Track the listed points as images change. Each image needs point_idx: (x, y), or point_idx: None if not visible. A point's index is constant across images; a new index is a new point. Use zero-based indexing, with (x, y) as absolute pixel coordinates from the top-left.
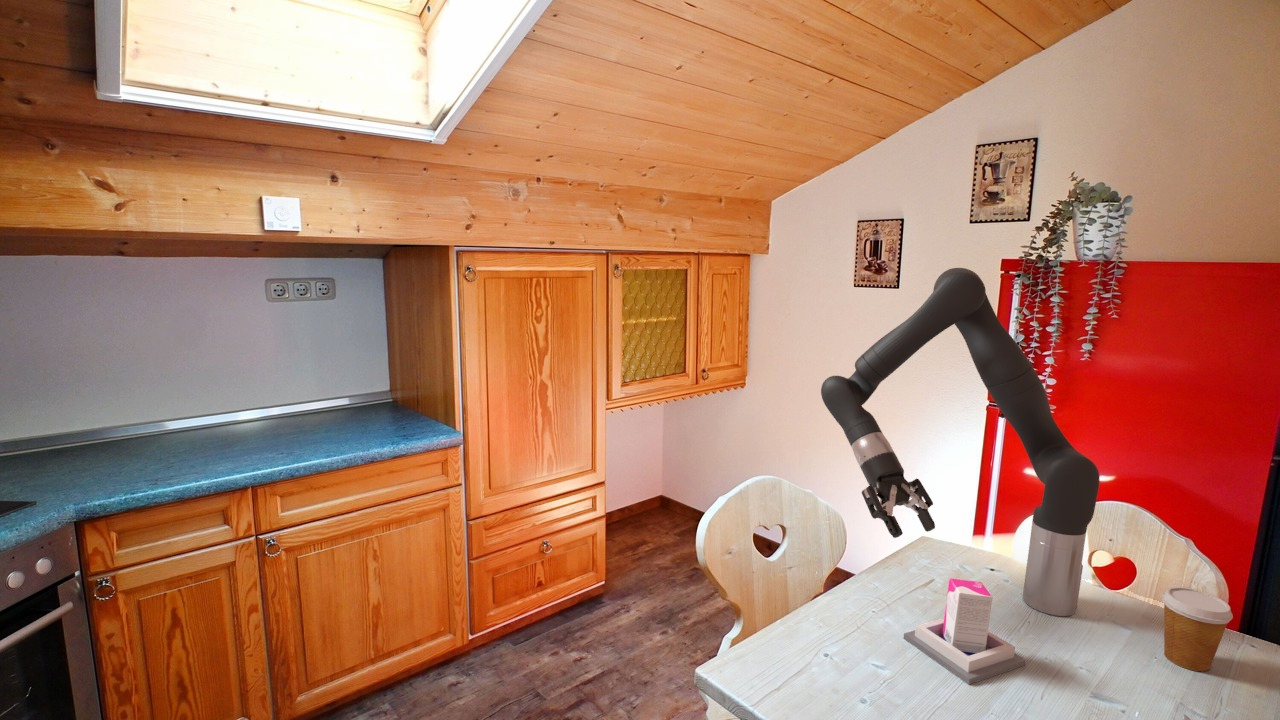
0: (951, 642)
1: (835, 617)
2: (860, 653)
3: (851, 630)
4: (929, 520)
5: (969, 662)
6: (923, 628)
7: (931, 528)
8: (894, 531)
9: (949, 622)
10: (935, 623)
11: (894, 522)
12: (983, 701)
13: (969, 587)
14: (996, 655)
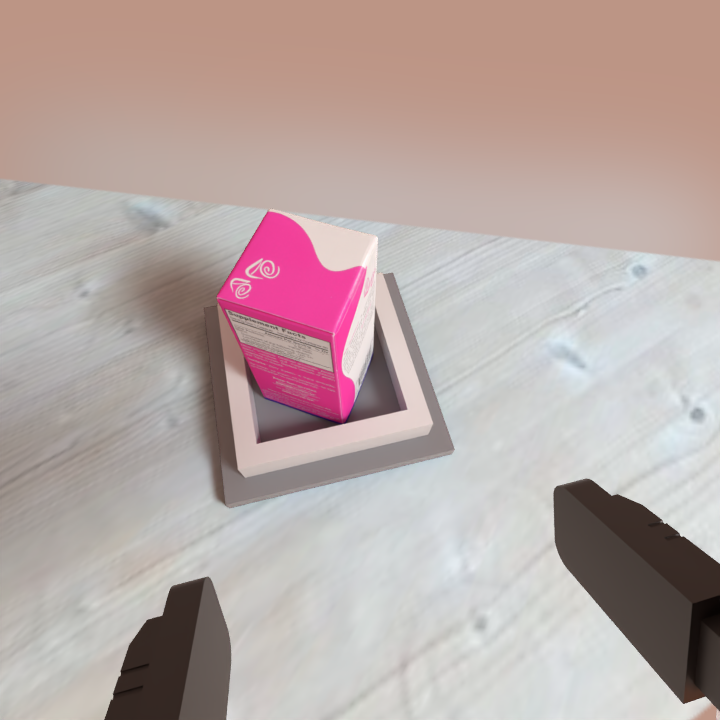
0: (372, 345)
1: None
2: (601, 408)
3: None
4: (193, 629)
5: (381, 273)
6: (416, 408)
7: (212, 588)
8: (630, 506)
9: (363, 350)
10: (362, 426)
11: (664, 541)
12: (394, 241)
13: (306, 262)
14: None
